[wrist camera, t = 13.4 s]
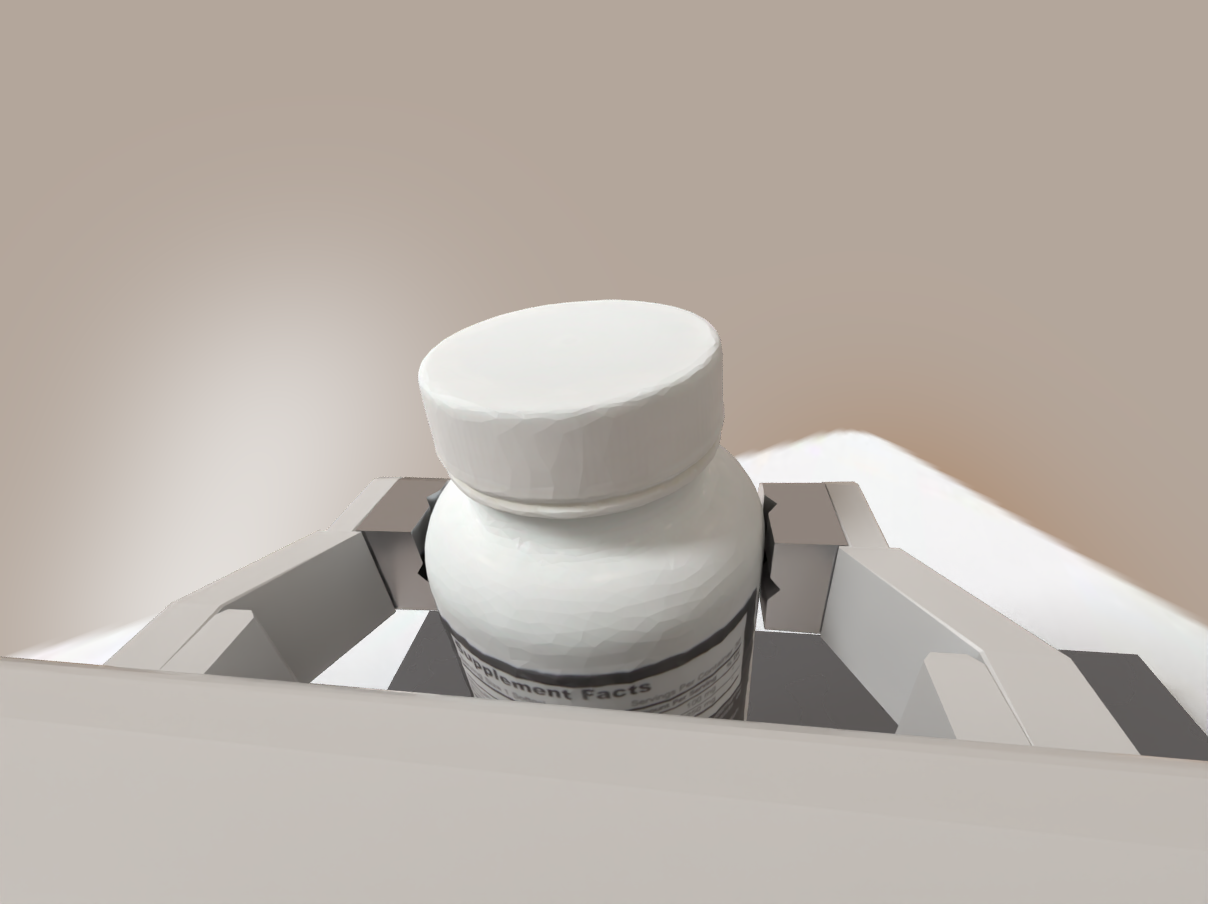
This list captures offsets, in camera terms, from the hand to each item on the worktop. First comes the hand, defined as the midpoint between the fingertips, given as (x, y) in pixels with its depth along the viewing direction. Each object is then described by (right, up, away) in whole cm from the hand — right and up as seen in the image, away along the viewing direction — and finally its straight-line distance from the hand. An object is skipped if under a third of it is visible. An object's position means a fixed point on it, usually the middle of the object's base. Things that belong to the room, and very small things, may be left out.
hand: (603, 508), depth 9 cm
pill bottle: (0, -6, +3) cm, 6 cm away
